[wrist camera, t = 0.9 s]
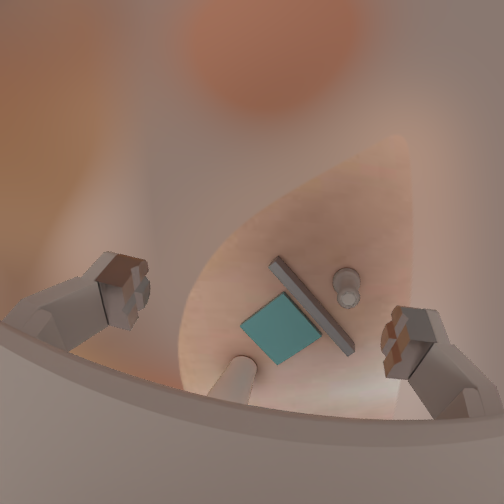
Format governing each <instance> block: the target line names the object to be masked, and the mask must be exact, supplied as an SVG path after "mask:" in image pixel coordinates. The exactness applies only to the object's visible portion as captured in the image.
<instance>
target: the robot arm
mask: <svg viewBox="0 0 504 504" xmlns="http://www.w3.org/2000/svg"><path fill="white" fill-rule="evenodd" d="M148 270H149V269H148V263H147V261H146V260H144V259H139V258H135V257H131V256H127V255H123V254H117V253H113V252H109V251H107V252H104V253H103V254H102V255H101V256H100V257H99V258H98V259H97V260H96V261H95V262H94V263H93V265H92V266H91V267H90V268H89V269H88V270H87V271H86V272H85V273H84V274H83V276H82V277H75V278H73V279H70V280H67V281H65V282H62V283H60V284H57V285H55V286H52V287H50V288H47V289H45V290H42V291H40V292H38V293H35V294H33V295H30V296H28V297H26V298H23V299H21V300H20V301H19V302H18V304H17V305H16V306H15V307H14V308H13V309H12V310H11V311H10V312H9V314H8V315H7V316H6V317H5V318H4V319H3V320H2V321H0V504H504V409H503V405H502V402H501V399H500V396H499V393H498V390H497V387H496V386H495V385H494V384H493V383H492V382H491V381H490V380H489V378H487V377H486V375H485V374H484V373H483V372H481V370H480V369H479V368H478V367H477V366H476V365H474V363H473V362H472V361H470V360H469V359H468V358H467V357H466V356H465V355H464V354H463V353H462V352H461V351H460V350H459V349H458V348H457V347H456V346H455V345H451V344H450V341H449V338H448V336H447V333H446V330H445V328H444V325H443V323H442V320H441V318H440V315H439V313H438V312H437V311H436V310H431V309H418V308H412V307H405V306H398V305H397V306H396V307H395V308H394V310H393V312H392V314H391V316H392V321H390V322H389V323H387V324H386V326H385V328H384V330H383V332H382V337H381V351H382V353H383V354H384V355H385V356H386V358H385V360H384V362H383V363H384V369H385V376H386V378H394V379H405V380H408V382H409V383H410V385H411V386H412V388H413V389H414V391H415V392H416V394H417V395H418V396H419V398H420V399H421V401H422V402H423V404H424V405H425V407H426V408H427V410H428V411H429V413H430V414H431V416H432V417H433V419H434V420H379V419H359V418H344V417H332V416H322V415H313V414H304V413H296V412H289V411H282V410H275V409H269V408H263V407H257V406H251V405H246V404H241V403H236V402H231V401H226V400H221V399H217V398H212V397H208V396H203V395H199V394H195V393H191V392H187V391H183V390H180V389H176V388H172V387H169V386H165V385H161V384H158V383H154V382H151V381H148V380H145V379H141V378H138V377H135V376H132V375H129V374H126V373H123V372H120V371H117V370H114V369H111V368H108V367H106V366H103V365H100V364H97V363H94V362H92V361H89V360H86V359H84V358H82V357H79V356H77V355H74V354H72V353H69V351H70V350H72V349H73V348H75V347H77V346H78V345H80V344H81V343H83V342H84V341H86V340H87V339H89V338H90V337H92V336H94V335H95V334H97V333H98V332H100V331H102V330H103V329H105V328H106V327H108V325H111V326H114V327H117V328H122V329H125V330H129V331H131V329H132V328H133V326H134V324H135V323H136V321H137V319H138V318H139V316H138V311H140V310H141V309H143V308H145V306H146V304H147V302H148V299H149V295H150V281H149V280H148V279H147V277H146V276H145V275H146V274H147V273H148Z"/></svg>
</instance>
